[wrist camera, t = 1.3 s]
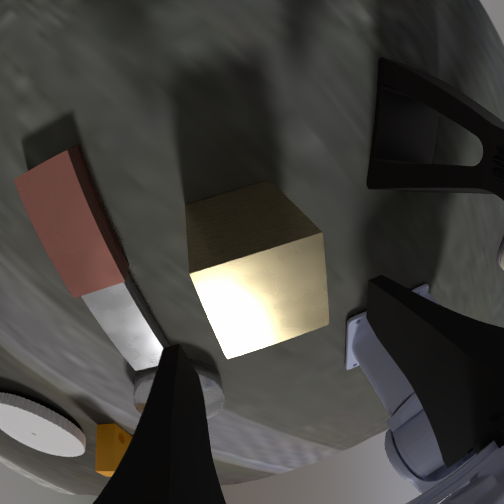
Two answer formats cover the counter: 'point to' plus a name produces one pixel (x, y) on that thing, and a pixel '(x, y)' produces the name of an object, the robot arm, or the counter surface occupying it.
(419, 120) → the phone stand
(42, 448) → the plastic lid
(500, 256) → the aerosol can
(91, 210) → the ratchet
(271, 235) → the tan rectangular block
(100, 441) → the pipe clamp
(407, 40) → the counter surface
